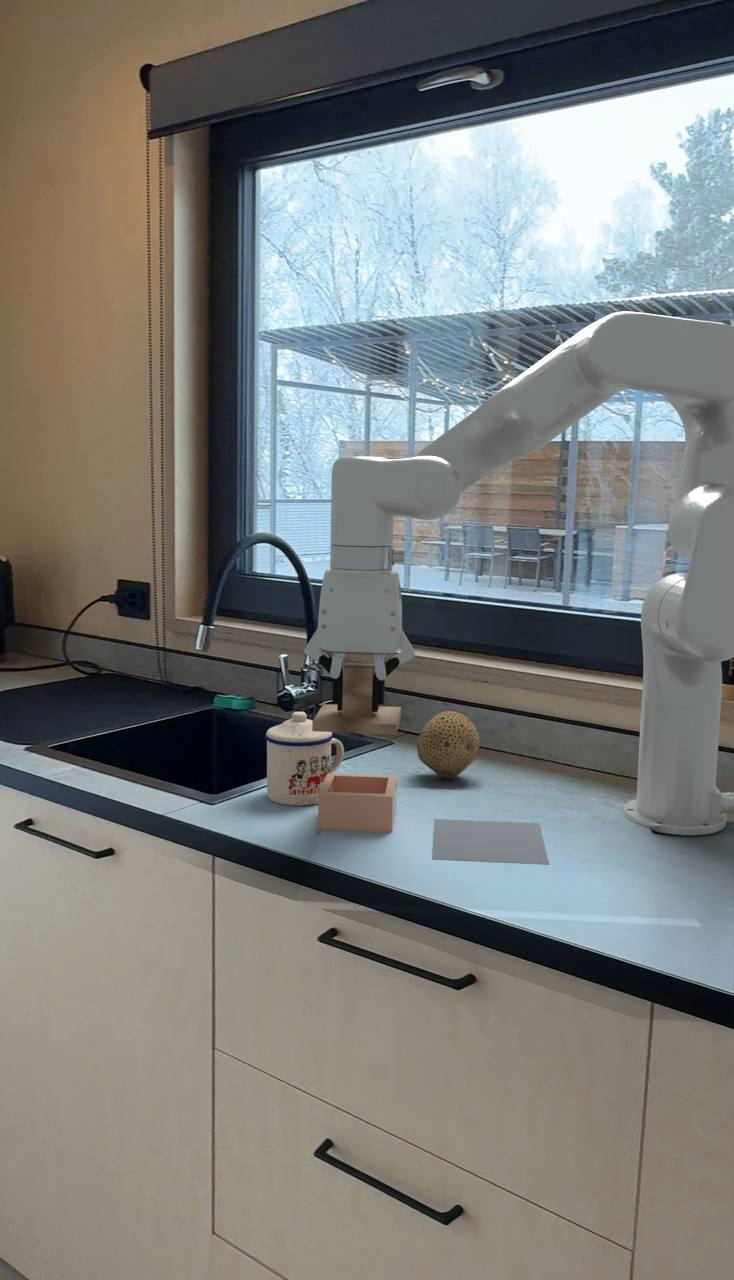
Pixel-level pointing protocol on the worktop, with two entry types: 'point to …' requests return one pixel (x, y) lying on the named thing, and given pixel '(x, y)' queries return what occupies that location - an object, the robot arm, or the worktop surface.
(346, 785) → the dish
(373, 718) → the lid
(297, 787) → the teacup with lid
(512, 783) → the worktop surface
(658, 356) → the robot arm
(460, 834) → the mat
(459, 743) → the natural sponge
